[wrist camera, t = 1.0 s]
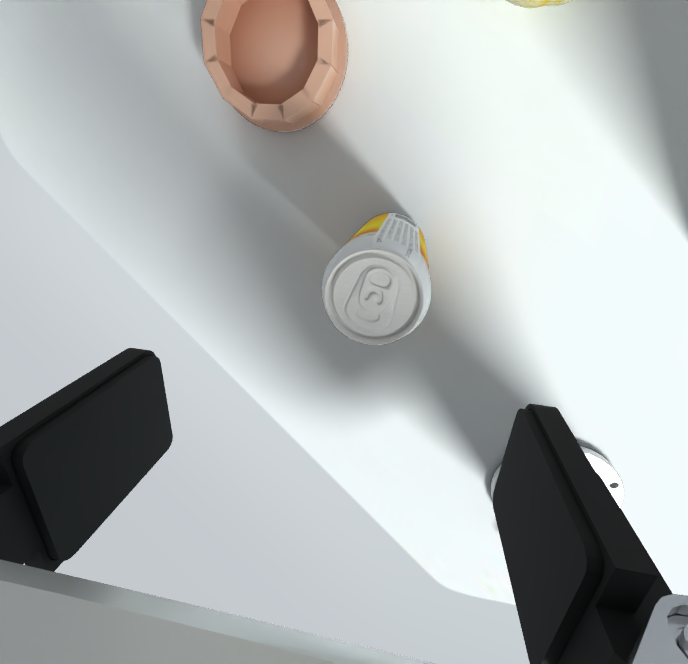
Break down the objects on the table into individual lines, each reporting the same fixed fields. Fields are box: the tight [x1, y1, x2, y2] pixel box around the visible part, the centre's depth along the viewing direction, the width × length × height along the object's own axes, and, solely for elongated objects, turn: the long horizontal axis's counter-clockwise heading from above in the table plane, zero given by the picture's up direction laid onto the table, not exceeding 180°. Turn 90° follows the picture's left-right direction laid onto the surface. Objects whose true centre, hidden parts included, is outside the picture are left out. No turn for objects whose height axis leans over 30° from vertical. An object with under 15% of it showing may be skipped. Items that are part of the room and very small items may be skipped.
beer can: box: [321, 213, 431, 345], centre depth 26 cm, size 6×6×15 cm
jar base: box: [201, 0, 348, 132], centre depth 27 cm, size 11×11×3 cm
